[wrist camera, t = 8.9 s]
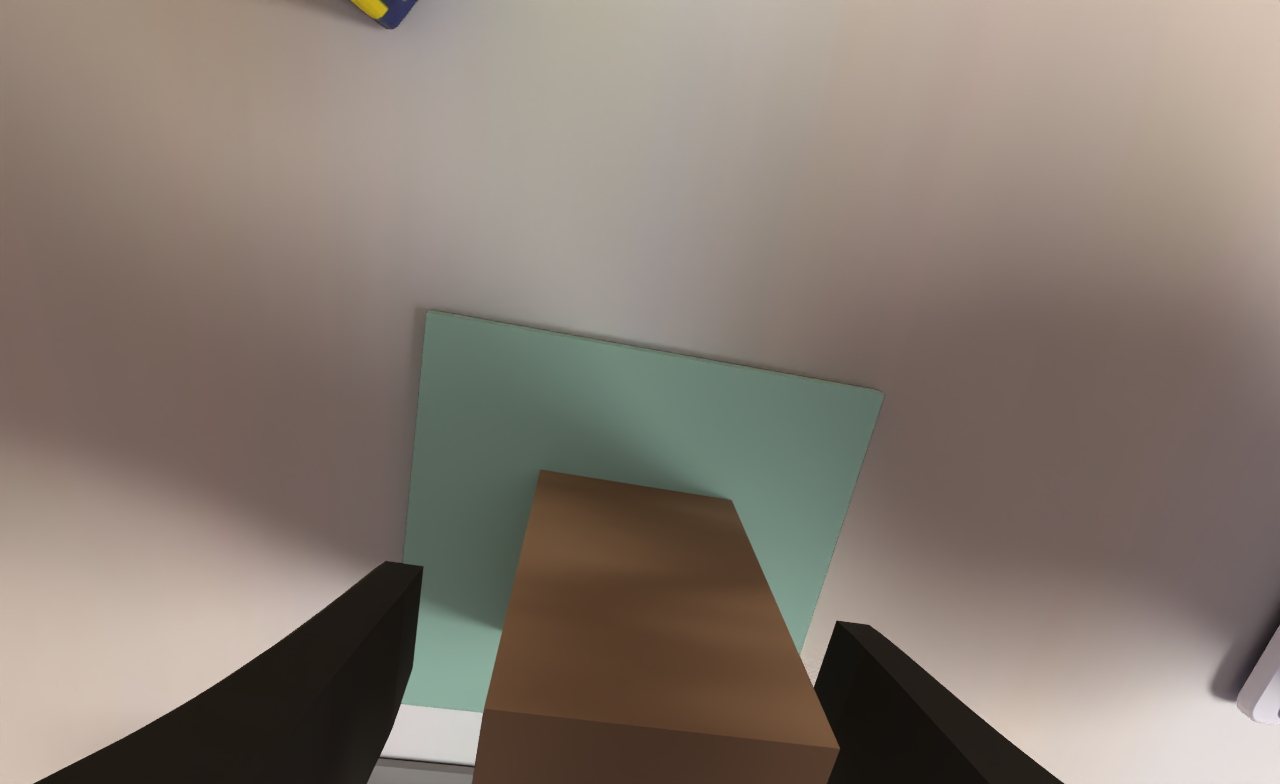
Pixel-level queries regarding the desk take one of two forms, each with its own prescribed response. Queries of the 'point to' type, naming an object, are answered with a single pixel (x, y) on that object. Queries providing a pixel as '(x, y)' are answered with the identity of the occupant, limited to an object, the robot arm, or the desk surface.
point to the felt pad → (606, 469)
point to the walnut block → (645, 650)
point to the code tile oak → (419, 773)
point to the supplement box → (386, 10)
